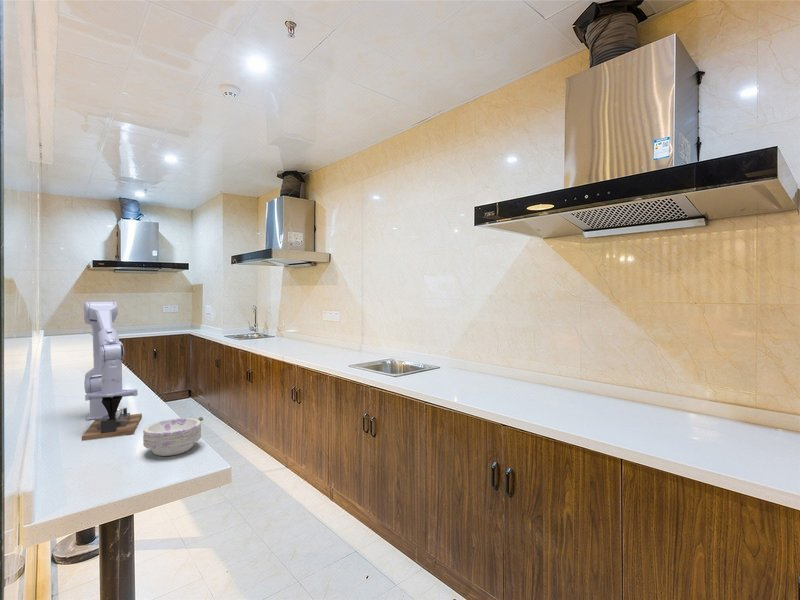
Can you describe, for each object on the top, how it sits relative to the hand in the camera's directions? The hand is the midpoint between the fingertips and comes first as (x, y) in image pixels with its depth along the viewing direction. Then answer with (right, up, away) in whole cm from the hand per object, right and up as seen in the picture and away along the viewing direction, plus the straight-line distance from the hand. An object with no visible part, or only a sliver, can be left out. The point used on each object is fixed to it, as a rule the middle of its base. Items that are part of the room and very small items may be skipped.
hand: (112, 418), depth 138 cm
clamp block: (-1, -3, +2) cm, 3 cm away
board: (-1, -4, +3) cm, 5 cm away
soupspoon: (+26, -5, +1) cm, 26 cm away
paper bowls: (+30, -5, -16) cm, 35 cm away
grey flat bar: (-1, -1, +3) cm, 3 cm away
